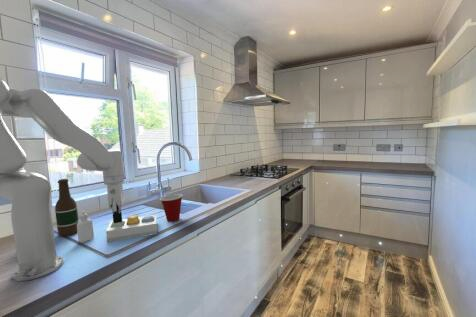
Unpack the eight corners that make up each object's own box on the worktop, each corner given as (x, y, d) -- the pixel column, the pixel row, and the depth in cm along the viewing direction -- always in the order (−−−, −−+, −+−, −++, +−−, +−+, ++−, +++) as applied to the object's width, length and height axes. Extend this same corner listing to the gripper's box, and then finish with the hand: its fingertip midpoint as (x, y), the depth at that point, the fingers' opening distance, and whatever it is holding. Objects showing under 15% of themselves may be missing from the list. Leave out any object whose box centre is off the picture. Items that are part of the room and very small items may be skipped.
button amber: (138, 225, 102) (138, 217, 102) (127, 227, 101) (126, 219, 100) (139, 222, 106) (138, 214, 106) (128, 223, 105) (127, 216, 105)
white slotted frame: (157, 233, 102) (156, 223, 101) (107, 242, 95) (106, 231, 95) (156, 223, 113) (156, 214, 112) (111, 230, 106) (110, 220, 106)
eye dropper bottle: (77, 240, 98) (74, 211, 96) (93, 235, 101) (90, 208, 100) (79, 243, 95) (75, 214, 93) (95, 239, 98) (92, 211, 97)
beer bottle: (71, 236, 101) (65, 181, 99) (53, 237, 101) (46, 181, 99) (83, 229, 109) (78, 177, 106) (67, 229, 109) (60, 178, 106)
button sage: (123, 231, 100) (122, 223, 100) (111, 232, 99) (111, 224, 99) (124, 227, 105) (123, 219, 104) (113, 228, 103) (112, 221, 103)
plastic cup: (168, 215, 124) (167, 192, 122) (187, 216, 121) (186, 193, 120) (156, 223, 113) (154, 198, 112) (177, 224, 111) (175, 199, 109)
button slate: (153, 226, 104) (153, 218, 104) (142, 228, 103) (142, 220, 103) (153, 222, 109) (153, 215, 108) (143, 224, 107) (142, 216, 107)
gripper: (121, 182, 94) (125, 227, 96) (125, 175, 108) (129, 215, 110) (100, 184, 91) (104, 230, 93) (106, 177, 105) (110, 217, 107)
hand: (117, 221), depth 101 cm, fingers closed
